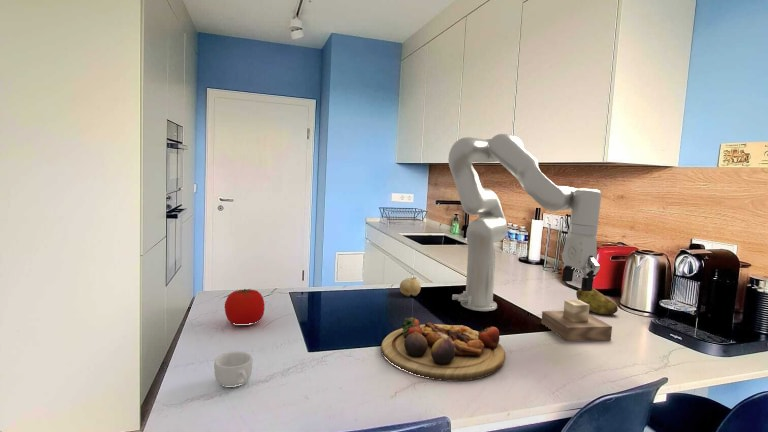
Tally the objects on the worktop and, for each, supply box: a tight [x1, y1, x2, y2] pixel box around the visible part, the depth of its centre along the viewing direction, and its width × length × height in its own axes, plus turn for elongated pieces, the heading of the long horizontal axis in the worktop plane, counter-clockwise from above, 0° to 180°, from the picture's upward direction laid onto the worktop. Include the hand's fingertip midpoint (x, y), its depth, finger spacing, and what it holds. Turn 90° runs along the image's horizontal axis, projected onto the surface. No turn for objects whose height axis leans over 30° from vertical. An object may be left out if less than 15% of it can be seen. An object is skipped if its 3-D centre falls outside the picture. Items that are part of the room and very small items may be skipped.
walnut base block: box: [541, 310, 613, 342], centre depth 128 cm, size 14×14×4 cm
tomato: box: [224, 288, 265, 324], centre depth 124 cm, size 11×12×10 cm
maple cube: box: [563, 299, 590, 322], centre depth 128 cm, size 5×5×5 cm
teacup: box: [213, 351, 253, 386], centre depth 90 cm, size 10×8×5 cm
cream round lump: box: [399, 276, 422, 297], centre depth 160 cm, size 8×8×7 cm
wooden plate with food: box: [380, 316, 506, 381], centre depth 110 cm, size 32×32×8 cm
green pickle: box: [576, 287, 619, 316], centre depth 148 cm, size 8×13×8 cm, turn 33°
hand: (576, 285), depth 127 cm, fingers open, 9 cm apart
